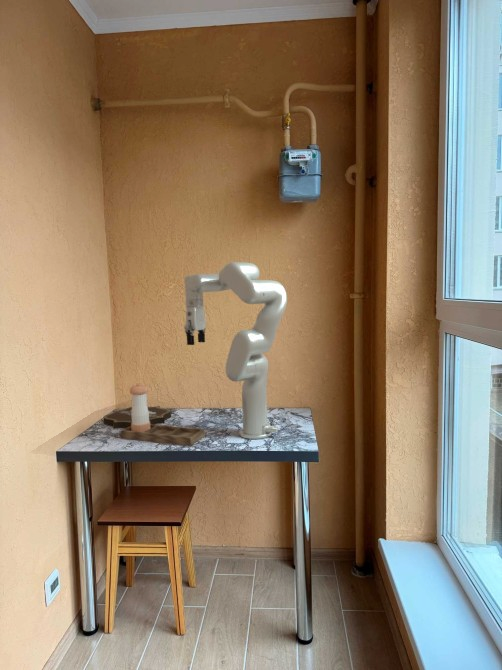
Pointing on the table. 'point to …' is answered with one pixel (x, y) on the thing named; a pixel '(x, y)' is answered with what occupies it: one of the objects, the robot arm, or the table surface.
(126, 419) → the decorative plaque
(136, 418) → the pepper shaker
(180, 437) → the notch ledge
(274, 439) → the table surface
